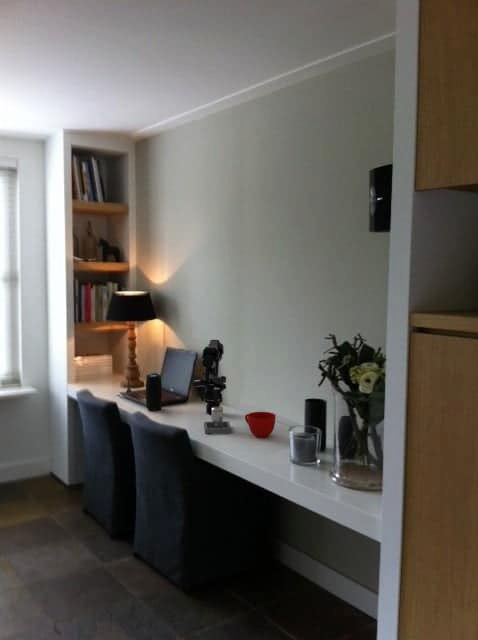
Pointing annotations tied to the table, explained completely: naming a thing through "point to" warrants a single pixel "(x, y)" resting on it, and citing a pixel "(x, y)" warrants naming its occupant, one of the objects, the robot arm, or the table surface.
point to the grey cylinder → (217, 417)
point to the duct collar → (217, 430)
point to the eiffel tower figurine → (127, 389)
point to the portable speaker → (153, 392)
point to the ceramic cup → (261, 423)
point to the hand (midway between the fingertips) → (209, 402)
